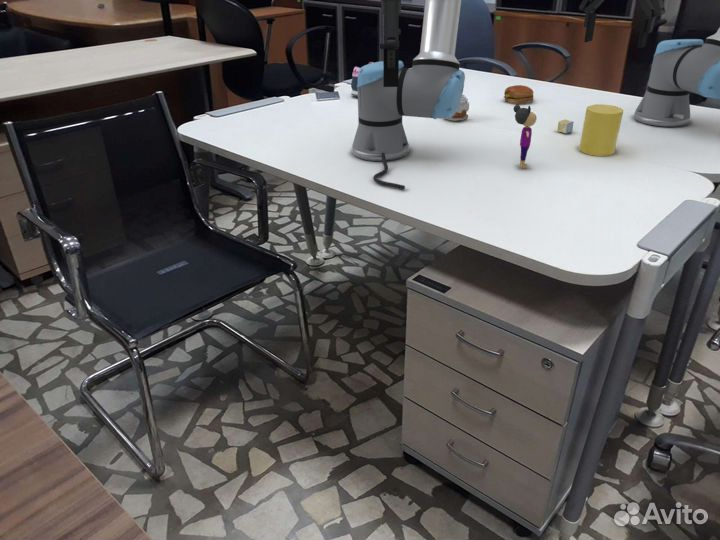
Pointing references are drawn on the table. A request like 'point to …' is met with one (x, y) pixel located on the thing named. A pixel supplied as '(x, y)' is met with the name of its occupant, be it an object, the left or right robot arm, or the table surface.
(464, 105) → the cream topped cupcake
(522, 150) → the toy
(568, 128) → the alphabet block
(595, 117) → the canister
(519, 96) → the burger
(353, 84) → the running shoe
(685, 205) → the table surface
